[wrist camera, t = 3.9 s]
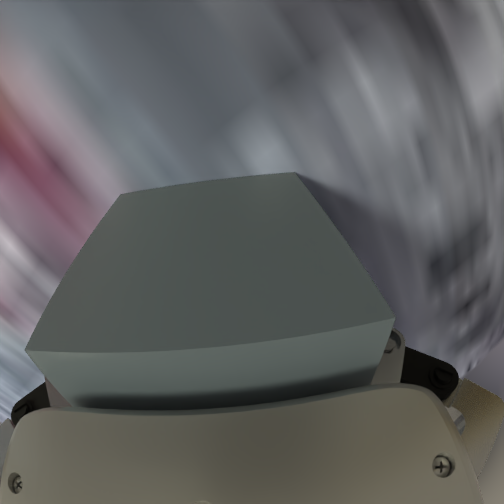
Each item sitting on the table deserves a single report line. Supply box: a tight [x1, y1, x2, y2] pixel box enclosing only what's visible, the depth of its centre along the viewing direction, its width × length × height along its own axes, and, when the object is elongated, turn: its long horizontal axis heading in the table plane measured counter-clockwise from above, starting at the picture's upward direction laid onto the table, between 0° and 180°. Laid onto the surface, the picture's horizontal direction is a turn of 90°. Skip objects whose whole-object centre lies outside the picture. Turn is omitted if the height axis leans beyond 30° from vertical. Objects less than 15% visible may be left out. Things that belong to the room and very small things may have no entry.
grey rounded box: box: [25, 172, 396, 410], centre depth 11 cm, size 8×8×9 cm
